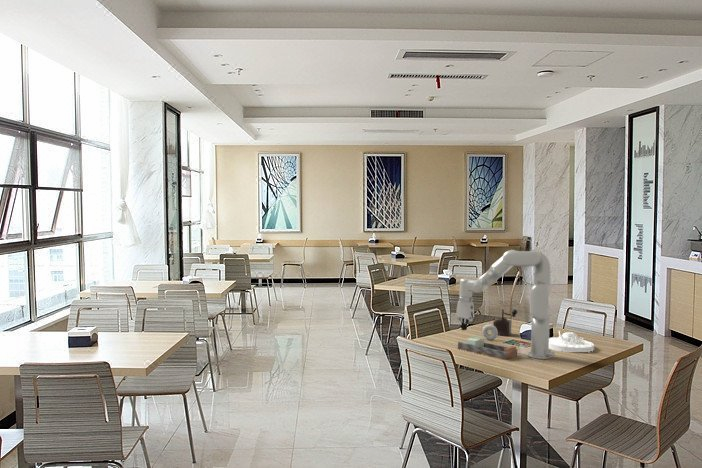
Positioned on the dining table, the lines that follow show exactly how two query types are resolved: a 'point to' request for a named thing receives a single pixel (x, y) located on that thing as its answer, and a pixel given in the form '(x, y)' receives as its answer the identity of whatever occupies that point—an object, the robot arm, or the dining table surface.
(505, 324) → the brown coffee grinder
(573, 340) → the cake
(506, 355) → the track
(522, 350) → the dining table surface
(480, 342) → the sliding block
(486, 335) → the donut
